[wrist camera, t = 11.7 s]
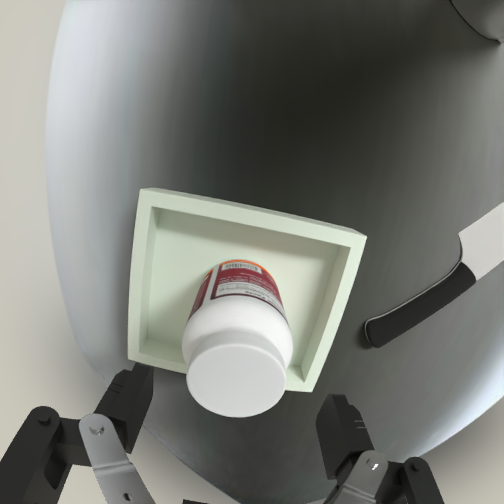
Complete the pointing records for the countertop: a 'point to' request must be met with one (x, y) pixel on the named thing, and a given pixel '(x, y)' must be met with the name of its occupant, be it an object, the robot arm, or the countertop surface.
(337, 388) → the countertop surface
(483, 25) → the robot arm
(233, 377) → the pill bottle
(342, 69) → the countertop surface
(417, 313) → the kitchen cleaver
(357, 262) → the collection tray
